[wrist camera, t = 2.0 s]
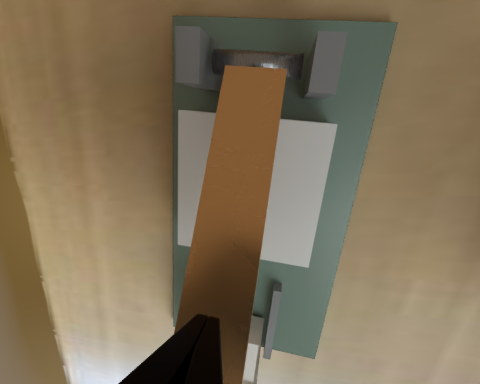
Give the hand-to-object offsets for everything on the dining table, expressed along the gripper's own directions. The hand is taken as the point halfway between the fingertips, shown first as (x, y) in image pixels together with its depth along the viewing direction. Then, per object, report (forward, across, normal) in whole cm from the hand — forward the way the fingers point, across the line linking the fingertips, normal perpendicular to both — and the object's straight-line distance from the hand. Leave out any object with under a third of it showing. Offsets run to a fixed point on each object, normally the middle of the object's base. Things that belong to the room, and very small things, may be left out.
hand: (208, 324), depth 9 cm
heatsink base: (+11, 0, 0) cm, 11 cm away
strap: (+4, 0, -3) cm, 5 cm away
